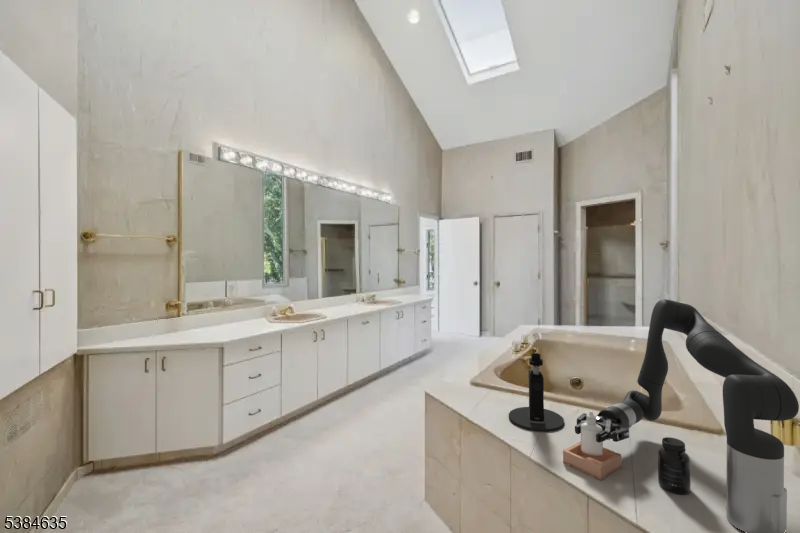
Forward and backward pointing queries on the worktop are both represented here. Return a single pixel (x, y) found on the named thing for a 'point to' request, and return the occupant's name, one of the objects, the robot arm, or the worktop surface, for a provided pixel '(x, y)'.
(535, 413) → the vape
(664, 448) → the supplement bottle
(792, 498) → the worktop surface
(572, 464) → the tray
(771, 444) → the robot arm
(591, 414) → the eye dropper bottle
